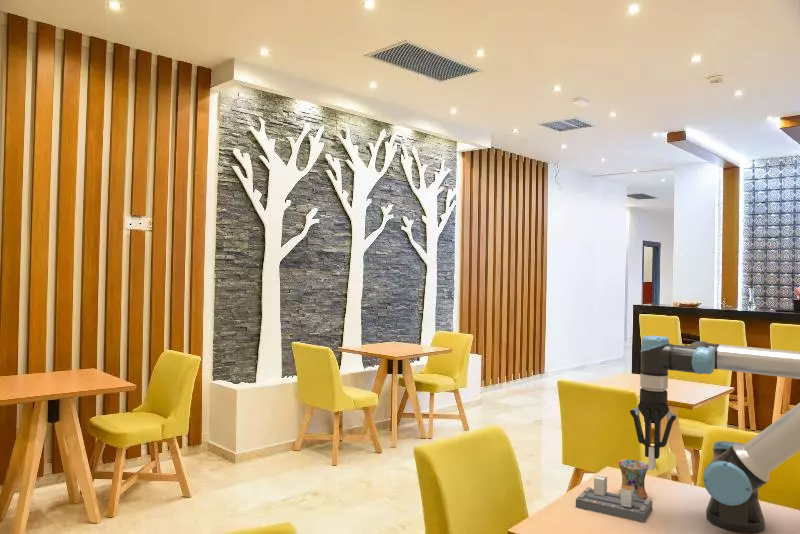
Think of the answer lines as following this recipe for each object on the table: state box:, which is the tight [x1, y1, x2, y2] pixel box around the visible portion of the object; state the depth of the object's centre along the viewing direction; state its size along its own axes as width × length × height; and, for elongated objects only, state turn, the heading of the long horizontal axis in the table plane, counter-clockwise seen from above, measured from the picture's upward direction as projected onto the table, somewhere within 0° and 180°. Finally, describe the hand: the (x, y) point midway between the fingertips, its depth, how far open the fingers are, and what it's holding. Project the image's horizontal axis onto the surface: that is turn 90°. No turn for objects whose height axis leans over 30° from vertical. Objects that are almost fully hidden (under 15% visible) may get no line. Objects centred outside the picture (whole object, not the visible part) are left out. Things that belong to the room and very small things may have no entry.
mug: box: [618, 459, 649, 500], centre depth 200 cm, size 12×9×11 cm
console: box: [575, 474, 653, 523], centre depth 188 cm, size 20×12×8 cm, turn 57°
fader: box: [620, 484, 634, 508], centre depth 184 cm, size 3×4×6 cm
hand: (651, 468), depth 180 cm, fingers closed
